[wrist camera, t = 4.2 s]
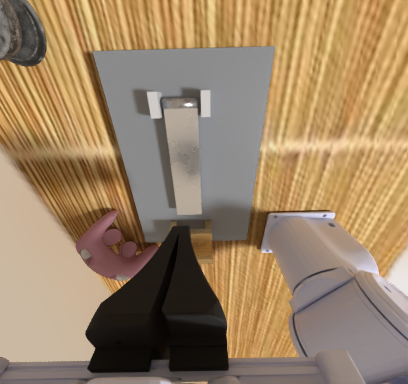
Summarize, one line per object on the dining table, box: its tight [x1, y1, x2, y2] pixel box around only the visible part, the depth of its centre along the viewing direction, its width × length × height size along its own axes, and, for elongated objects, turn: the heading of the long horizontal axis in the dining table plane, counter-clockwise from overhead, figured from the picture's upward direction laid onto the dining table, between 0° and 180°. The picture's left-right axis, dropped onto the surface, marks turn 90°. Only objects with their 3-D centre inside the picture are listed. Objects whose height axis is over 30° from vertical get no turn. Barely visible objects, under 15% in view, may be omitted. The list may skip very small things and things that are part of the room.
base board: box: [93, 46, 275, 242], centre depth 19 cm, size 15×22×3 cm
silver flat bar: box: [162, 98, 202, 215], centre depth 17 cm, size 3×12×1 cm, turn 1°
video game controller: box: [76, 210, 158, 281], centre depth 23 cm, size 10×5×7 cm, turn 34°
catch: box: [168, 220, 213, 264], centre depth 21 cm, size 5×3×4 cm, turn 91°
